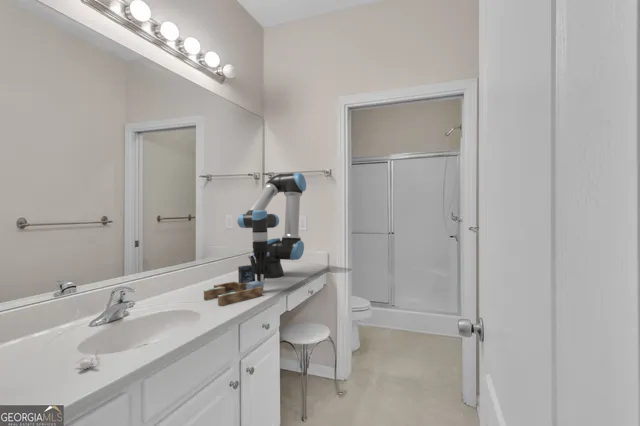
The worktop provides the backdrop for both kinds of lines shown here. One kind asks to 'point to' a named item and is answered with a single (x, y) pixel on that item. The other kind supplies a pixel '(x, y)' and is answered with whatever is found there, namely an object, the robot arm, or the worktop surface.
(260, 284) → the block
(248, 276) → the box
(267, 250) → the robot arm
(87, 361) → the dove figurine
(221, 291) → the wooden zigzag frame
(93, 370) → the worktop surface
